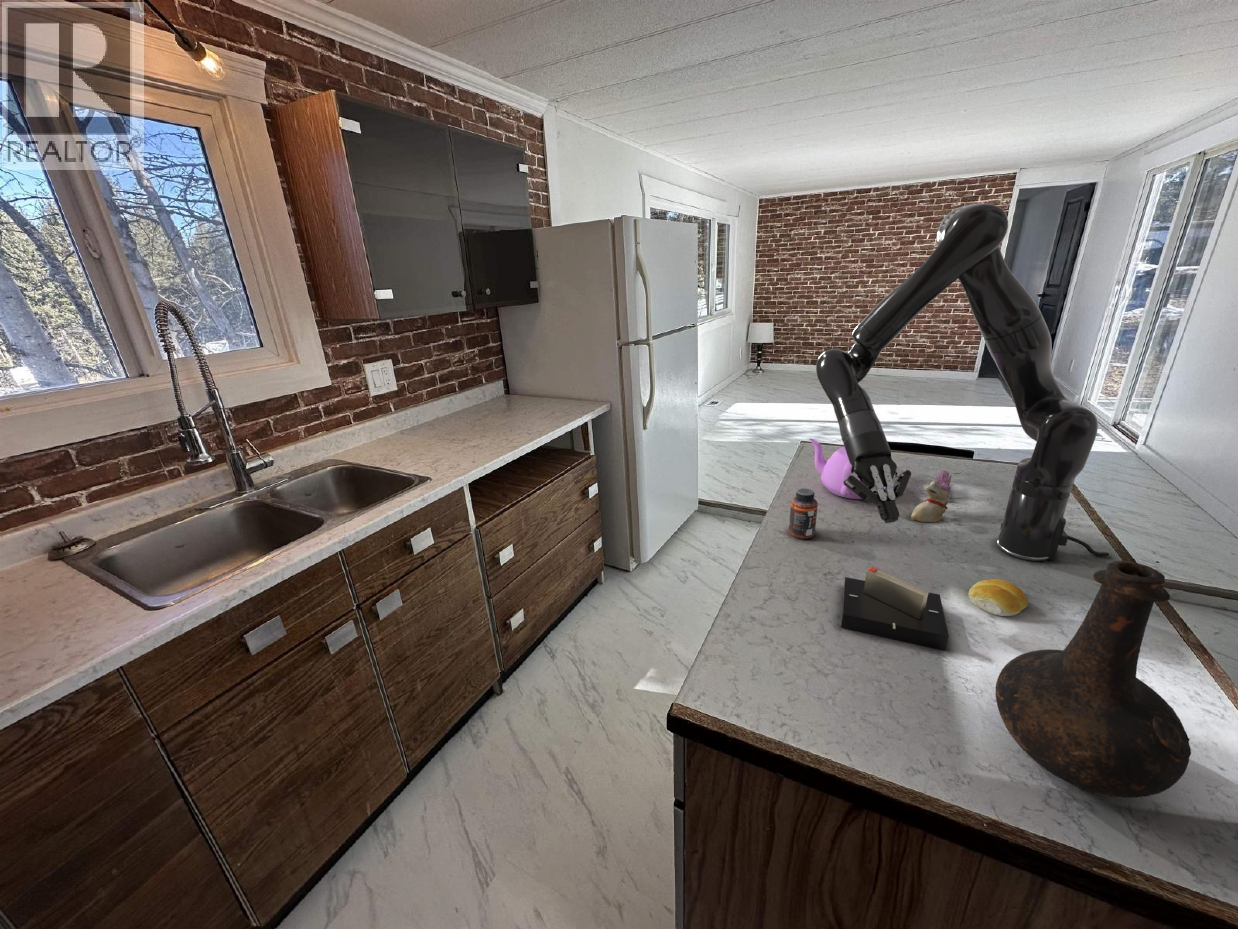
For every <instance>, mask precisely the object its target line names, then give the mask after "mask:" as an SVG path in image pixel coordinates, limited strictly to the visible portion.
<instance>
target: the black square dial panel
mask: <svg viewBox="0 0 1238 929" xmlns="http://www.w3.org/2000/svg"><path fill="white" fill-rule="evenodd" d="M843 583H844V584H843V591H842V608H841V624H840V628H841V629H846V630H850V631H855V632H859V633H860V632H861V633H862V634H863V633H864V634H867V635H874V636H877V637H882V638H885V639H886V638H887V639H891V640H895V641H900V642H903V643H908V644H913V645H918V646H923V647H926V648H931V649H936V650H940V651H944V652H945V651H946V650H947V647H948V642H949V638H950V635H949V631H948V626H947V622H946V617H945V612H944V608H943V602H942V599H941V598H942V597H941V594H940V593H934V592H929V591H927V592H928V597H927V602H926V607H925V611H924V616H923V617H922V618H920V619H917V618H915V617H913V616H911V615H909V614H907V613H905V612H903V611H901V610H898V609H896V608H894V607H892V606H890V605H888V604H886V603H884V602H882V601H880V600H878V599H876V598H874V597H872V596H869V595H867V594H865V593H864V586H865V580H863V579H857V578H851V577H847V576H845V577H844V582H843Z"/></svg>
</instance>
